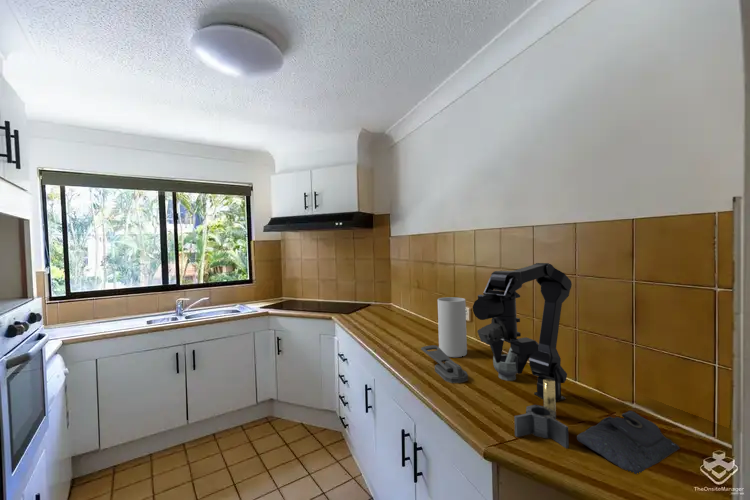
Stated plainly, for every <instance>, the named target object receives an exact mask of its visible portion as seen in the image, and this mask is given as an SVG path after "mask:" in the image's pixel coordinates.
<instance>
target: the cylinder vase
mask: <svg viewBox="0 0 750 500" xmlns="http://www.w3.org/2000/svg"><path fill="white" fill-rule="evenodd" d="M466 307H467V306H466V298H462V297H451V296H450V297H438V298H437V318H438V319H437V323H438V324H437V325H438V326H437V328H438V347H439V348H440V349H441V350H442V351H443V352H444V353H445V354H446V355H447V356H448V357H449V358H462V356H463V357H465V356H466V355H467V354H468V342H467V340H468V339H467V338H468V337H467V308H466Z"/></svg>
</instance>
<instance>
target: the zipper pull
mask: <svg viewBox="0 0 750 500" xmlns="http://www.w3.org/2000/svg"><path fill="white" fill-rule="evenodd" d="M420 350H421V351H422V352H424V353H425V354H426V355H428V356H429V357H430V358H431V359H432V360H434V361H435V362H436V363H437V364H435V365H434V372H435V373H436V374H437V375H439V376H440V378H441V379H443V381H445V382H447V383H450V384H461V383H465V382H467V381H469V374H468V373H467V371H466V370H464V369H463V367H462V366H460V365H459V364H458V363H456V362H455V361H453V360H452V359H451V357H448V356H447V355H446V354H445V353H444V352H443V351H442V350H441V349H440V348H439V345H425V346H422V347H421V348H420Z"/></svg>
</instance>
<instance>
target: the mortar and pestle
mask: <svg viewBox="0 0 750 500" xmlns="http://www.w3.org/2000/svg"><path fill="white" fill-rule="evenodd" d="M510 351H513V350H512V349H511V346H510V347H509V350H508V353H507V354H502V355H501V360H500V362H499V363H497V362H496V360H495V358H494V355H493V356H492V363H493V367H494V370H495V371H496V372H497V373H498V379H501V380H504V381H506V382H507V381H510V382H512V381H516V380H517V376H516V375H518V374H517V370H516V363H515V356H514V355H513V354H512V353H511V352H510Z"/></svg>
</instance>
